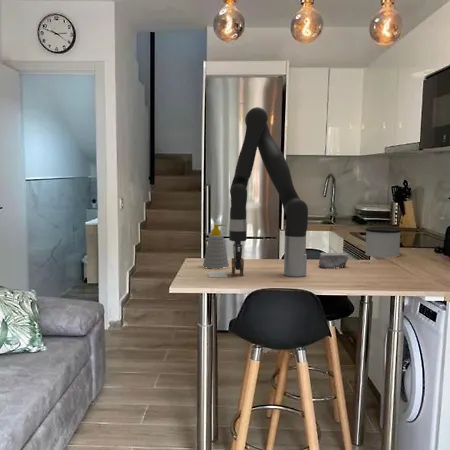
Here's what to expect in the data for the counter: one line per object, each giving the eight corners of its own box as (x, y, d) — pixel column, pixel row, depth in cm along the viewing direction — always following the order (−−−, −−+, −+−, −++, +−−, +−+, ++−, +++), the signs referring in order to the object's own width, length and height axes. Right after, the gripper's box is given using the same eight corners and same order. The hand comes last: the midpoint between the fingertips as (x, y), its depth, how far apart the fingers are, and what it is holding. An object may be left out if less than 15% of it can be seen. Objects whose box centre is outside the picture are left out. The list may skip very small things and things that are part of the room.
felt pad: (226, 272, 212) (226, 271, 212) (227, 277, 201) (227, 276, 201) (208, 272, 212) (208, 271, 212) (208, 277, 201) (208, 276, 201)
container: (365, 251, 281) (366, 226, 280) (399, 253, 275) (400, 227, 274) (364, 256, 263) (365, 229, 262) (400, 258, 257) (401, 230, 256)
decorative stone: (312, 267, 230) (325, 269, 221) (313, 252, 230) (325, 255, 221) (337, 265, 237) (350, 267, 228) (337, 251, 236) (350, 253, 227)
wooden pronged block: (242, 273, 210) (242, 258, 209) (243, 276, 205) (243, 260, 204) (231, 273, 209) (231, 258, 209) (232, 276, 204) (232, 260, 204)
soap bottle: (224, 270, 219) (224, 225, 217) (198, 268, 223) (199, 224, 221) (232, 265, 230) (232, 223, 229) (208, 263, 234) (208, 222, 233)
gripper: (248, 231, 198) (247, 271, 200) (245, 228, 213) (244, 265, 214) (230, 231, 198) (229, 271, 200) (228, 228, 212) (228, 265, 214)
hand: (237, 268), depth 207 cm, fingers closed on wooden pronged block, 5 cm apart
